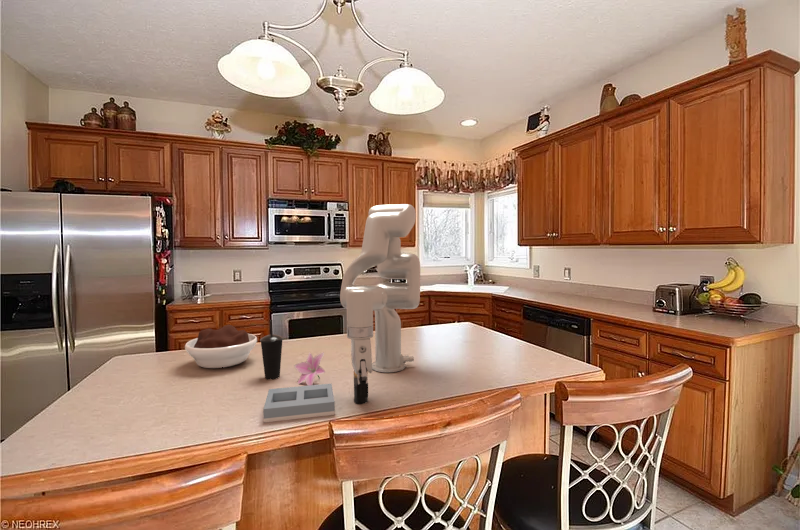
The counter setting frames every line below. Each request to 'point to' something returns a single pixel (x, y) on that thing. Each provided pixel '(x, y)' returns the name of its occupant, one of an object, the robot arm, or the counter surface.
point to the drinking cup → (271, 354)
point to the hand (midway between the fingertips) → (360, 392)
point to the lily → (310, 368)
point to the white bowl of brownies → (221, 347)
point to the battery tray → (299, 402)
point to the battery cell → (356, 400)
